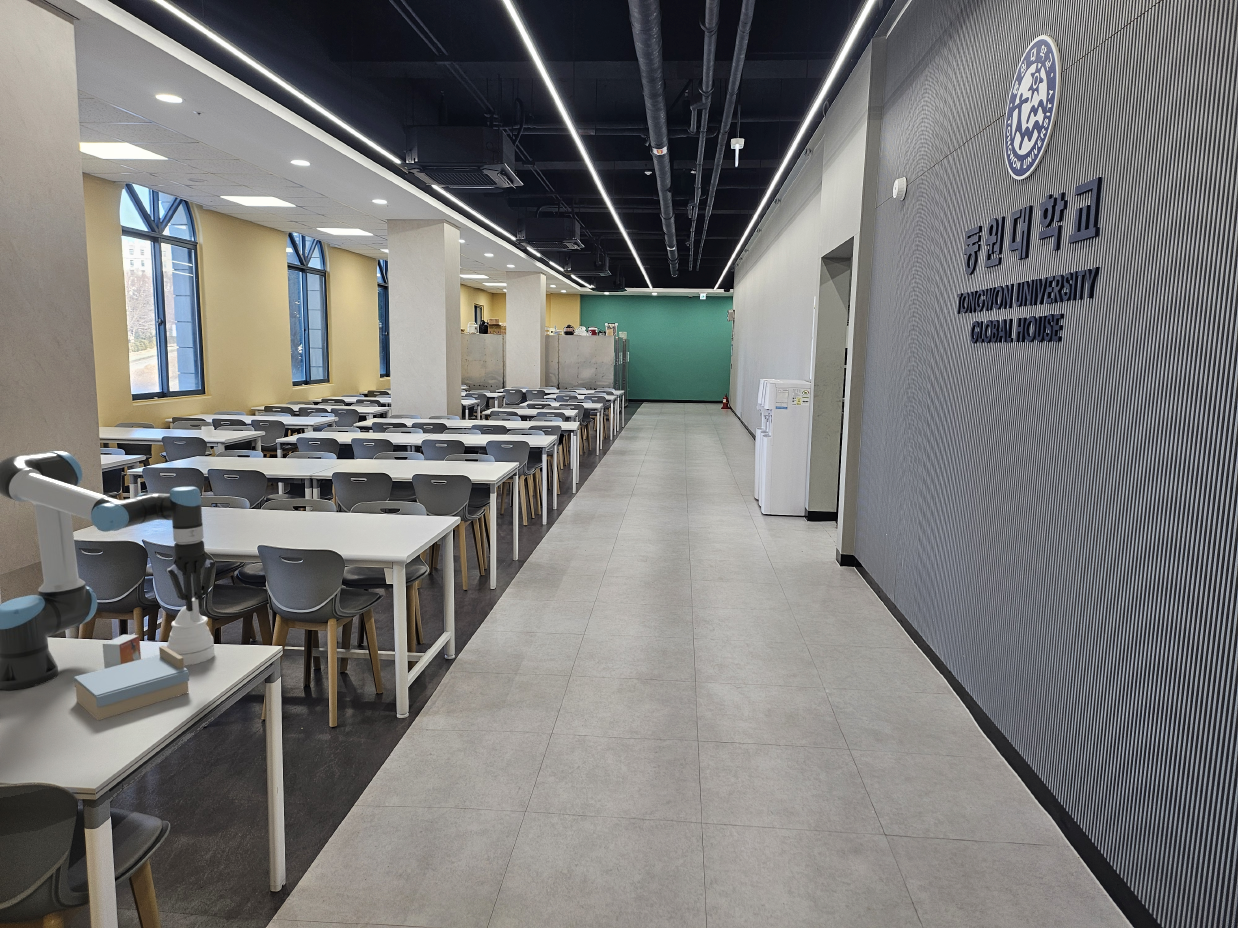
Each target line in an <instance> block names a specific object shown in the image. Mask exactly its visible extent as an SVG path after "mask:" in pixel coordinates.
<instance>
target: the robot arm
mask: <svg viewBox="0 0 1238 928" xmlns="http://www.w3.org/2000/svg"><path fill="white" fill-rule="evenodd" d="M81 481H83V469H82V467H81V465H80V463H79V461H78V460H77V459H76V458H75V457H74V456H73V455H72V454H71V453H69V452H66V451H62V450H58V451H57V450H55V451H54V450H53V451H52V450H50V451H44V452H43V451H42V452H35V453H34V452H33V453H28V454H20V455H13V456H9V457H7V458H5V459H3V460H1V461H0V495H2V496H3V497H5V498H6V499H10V500H13V501H16V502H18V503H20V502H21V503H25V502H30V503H32V504H33V507H34V512H35V513H34V514H35V522H36V528H37V529H36V531H37V539H38V546H39V553H40V554H39V555H40V562H41V563H40V564H41V571H42V578H43V583H42V584H41V585H40V586H39V587H38V595H37V594H34V595H33V594H31V595H24V596H21V597H16V598H12V599H9V600H7V601H5V602H3V603H1V604H0V689H2V691H13V690H15V691H16V690H22V689H28V688H30V687H35V686H38V685H42V684H45V683H48V682H50V681H51V680H53V679H55V678H56V677H57V676H58V675H59V666H58V663H57V662H56V660H55V658H54V657H53V655H52V652H51V651H50V649H49V641H48V637H51V636H54V635H57V634H58V633H61V632H64V631H67V630H70V629H73V628H74V629H75V628H77V627H79V626H81V625H82V624H85V623H87V622H89V621H90V620H91V619H92V618H93V617H94V615H95V614H96V612H97V609H98V599H97V596H96V593H95V592H93V591H94V590H93V589H92V588H91V587H90V586H88V585H86V581H85V580H83V579H81V578H80V577H79V571H78V570H79V569H78V562H77V553H76V547H75V546H76V545H75V536H74V528H73V520H72V518H73V517H72V516H75V517H79V518H82V519H84V520H87V521H88V520H89V521H91V522H92V525H93V526H94V527H95V528H96V529H97V530H98V531H99V532H103V533H105V532H107V533H108V532H115V531H119V530H122V529H126V528H129V527H133V526H138V525H142V524H146V523H149V522H154V521H159V520H160V521H171V522H172V534H173V536H172V537H173V542H175V543H174V544H173V550H174V561H173V565H172V566H170V567H169V568H168V567H167V568H165V572H166V574H168V576H169V577H170V580H171V583H172V585H173V588H174V591H175V593H176V596H177V598H178V599H180V600H181V601H185V606H186V610H187V611H189V612H190V621H192V622H194V623H195V622H199V621H200V617H199V613H200V610H201V609H203V603H202V601H203V598H204V596H207V595H209V591H210V585H211V579H212V575H213V574H212V573H213V569H214V568H215V566H216V561H215V560H212V559H208V558H207V556H206V551H205V548H206V547H205V541H204V540H203V539H204V538H205V537H204V526H203V525H204V523H203V514H202V513H203V511H202V509H203V508H202V503H203V502H202V498H201V490H200V489H199V488H198V487H196V486H180V487H179V486H178V487H174V488H172V489H170V490H169V493H160V492H159V493H157V492H151V491H150V492H141V493H139V494H137V495H136V496H135V497H130V498H126V499H118V498H117V499H116V498H114V497H110V496H108V495H103V494H102V493H98V492H94V491H92V490H88V489H85V488H82V487H80V486H79V485H80V484H81ZM78 486H79V487H78ZM203 567H204V569H203ZM177 569H178V570H179V572H181V575H182V581H183V582H182V583H183V586H182V584H181V580H180V578H179V576H178V570H177ZM202 569H203V570H204V571H203V576H202V577H201V574H202ZM201 578H202V579H201ZM192 584H193V585H192ZM192 587H193V589H192ZM193 595H194V596H193Z"/></svg>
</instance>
